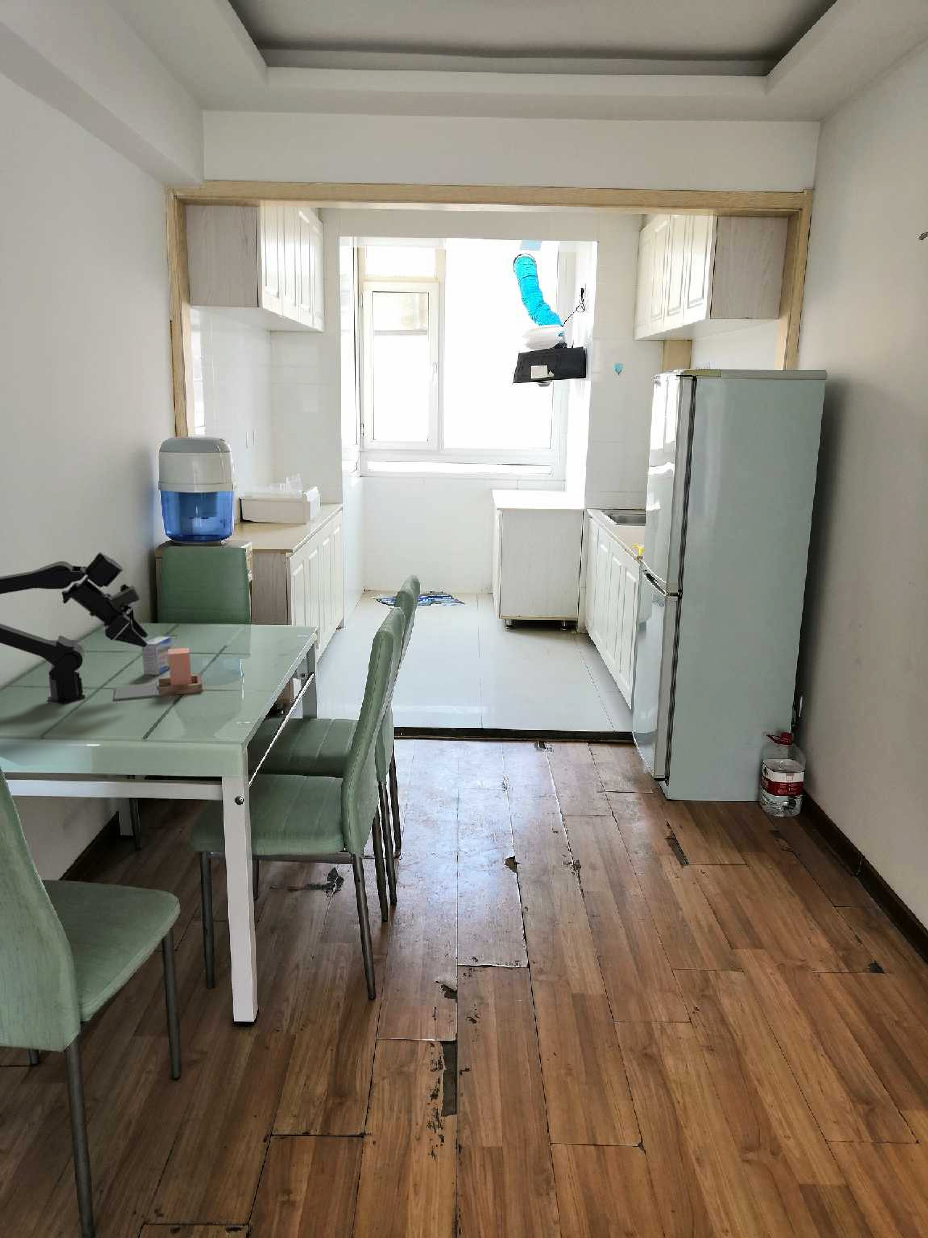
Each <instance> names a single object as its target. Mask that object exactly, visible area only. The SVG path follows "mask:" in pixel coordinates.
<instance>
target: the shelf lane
mask: <svg viewBox="0 0 928 1238" xmlns="http://www.w3.org/2000/svg"><path fill="white" fill-rule="evenodd" d="M191 681H192V684H187V685H176V686H171V679H170V676H164V677H158V686H157V691H158V697H161V696H171V695H173V694H175V695H182V694H192V693H193V694H194V693H204V691H203V679H202V674H201V673H200V674H191ZM173 696H174V695H173Z"/></svg>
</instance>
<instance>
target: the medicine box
mask: <svg viewBox="0 0 928 1238" xmlns="http://www.w3.org/2000/svg"><path fill="white" fill-rule="evenodd" d="M171 639H172V638H171V637H170V636H156V637H154V638H151V639H150V640H148V641H145V642H146V643H147V645H146V646H145V647H141V655H142V663H143V664H142V665H143V674H144V675H149V676H150V675H152V676H160V675H162V674H164V673H165V672H167V671H169V670H170V667H169V655H168V649H172V641H171ZM168 669H169V670H168Z"/></svg>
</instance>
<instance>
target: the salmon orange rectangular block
mask: <svg viewBox="0 0 928 1238" xmlns="http://www.w3.org/2000/svg"><path fill="white" fill-rule="evenodd" d="M168 655H169V667H170V669H169V674H170V675H169V677H170V679H171V685H170V686H176V685H187V684H193V683H192V681H191V675H192V672H191V671H192V670H191V668H192V667H191V659H190V657H191V656H190V647H179V648H171V649H168Z"/></svg>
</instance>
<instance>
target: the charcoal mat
mask: <svg viewBox="0 0 928 1238" xmlns="http://www.w3.org/2000/svg"><path fill="white" fill-rule="evenodd" d="M157 697H158V683H157V682H154V683H143V684H142V683H141V684H132V685H131V684H130V685H121V686H119V685H118V686H115V689H114V695H113V701H115V702H116V701H125V700H135V699H136V700H138V699H148V698H157ZM137 698H138V699H137Z"/></svg>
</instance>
